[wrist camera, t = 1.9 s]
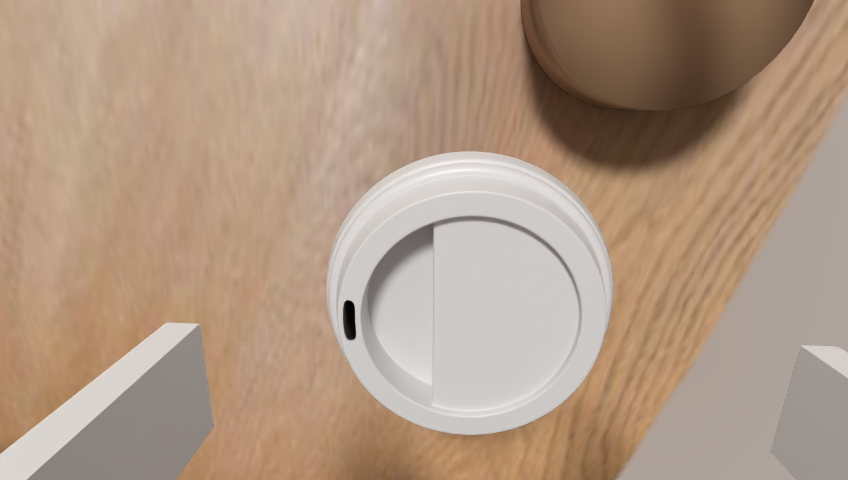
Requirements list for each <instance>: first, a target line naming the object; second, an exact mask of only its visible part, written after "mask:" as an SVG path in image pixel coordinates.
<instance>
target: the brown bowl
mask: <svg viewBox="0 0 848 480" xmlns="http://www.w3.org/2000/svg"><path fill="white" fill-rule="evenodd" d="M813 1H814V0H521V14H522V23H523V27H524V31H525V35H526V38H527V41H528V43H529V46H530V49H531V51H532V53H533V55H534V57H535V59H536V60H537V62H538V64H539V65H540V67H541V68H542V69H543V71H544V72H545V73H546V75H547V76H548V77H549V78H550V79H551V80H552V81H553V82H554V83H555V84H556V85H557V86H558V87H560V88H561V89H562V90H564V91H565V92H566V93H568V94H569V95H571V96H573V97H575V98H577V99H578V100H581V101H583V102H586V103H588V104H591V105H595V106H599V107H604V108H611V109H628V110H657V111H659V110H677V109H682V108H688V107H693V106H696V105H700V104H703V103H706V102H709V101H712V100H714V99H716V98H719V97H721V96H723V95H725V94H728V93H729V92H731V91H733V90H734V89H736V88H738V87H740V86H741V85H743V84H745V83H746V82H747V81H749V80H750V79H751V78H753V77H754V76H755V75H757V74H758V73H759V72H761V71H762V70H763V69H764V68H765V67H766V66H767V65H768V64H769V63H770V62H771V61H772V60H773V59H775V58H776V56H777V55H778V54H779V53H780V52H781V51H782V50H783V48H784V47H785V46H786V45H787V44H788V43H789V41H790V40H791V39H792V37H793V36H794V34H795V33H796V31H797V30H798V28H799V27H800V26H801V24H802V22H803V20H804V19H805V17H806V15H807V13H808V11H809V10H810V8H811V6H812V4H813Z"/></svg>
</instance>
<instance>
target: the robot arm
mask: <svg viewBox="0 0 848 480" xmlns="http://www.w3.org/2000/svg"><path fill="white" fill-rule="evenodd" d="M213 427H214V423H213V416H212V409H211V402H210V395H209V388H208V381H207V374H206V367H205V360H204V353H203V346H202V339H201V332H200V325H199V324H189V323H165V324H164V325H163V326H161V327H160V328H159V329H158V330H156V331H155V332H154V333H153V334H151V335H150V336H149V337H148V338H146V339H145V340H144V341H142V342H141V343H140V344H139V345H137V346H136V347H135V348H134V349H132V350H131V351H130V352H129V353H127V354H126V355H125V356H123V357H122V358H121V359H120V360H118V361H117V362H116V363H115V364H113V365H112V366H111V367H110V368H108V369H107V370H106V371H105V372H103V373H102V374H101V375H99V376H98V377H97V378H96V379H94V380H93V381H92V382H91V383H89V384H88V385H87V386H86V387H84V388H83V389H82V390H80V391H79V392H78V393H77V394H75V395H74V396H73V397H72V398H70V399H69V400H68V401H67V402H65V403H64V404H63V405H61V406H60V407H59V408H58V409H56V410H55V411H54V412H53V413H51V414H50V415H49V416H48V417H46V418H45V419H44V420H43V421H41V422H40V423H39V424H37V425H36V426H35V427H34V428H32V429H31V430H30V431H29V432H27V433H26V434H25V435H24V436H22V437H21V438H20V439H18V440H17V441H16V442H15V443H13V444H12V445H11V446H10V447H8V448H7V449H6V450H5V451H3V452H2V453H1V454H0V480H176V479H177V477H178V476H179V474H180V473H181V472H182V470H183V469H184V467H185V466H186V465H187V463H188V462H189V461H190V459H191V458H192V456H193V455H194V454H195V452H196V451H197V449H198V448H199V447H200V445H201V444H202V442H203V441H204V440H205V438H206V437H207V435H208V434H209V433H210V431H211V430H212V428H213ZM771 453H772V454H773V455H774V456H775V457H776V458H777V459H778V461H779V462H780V463H781V464H782V465H783V466H784V467H785V468H786V469H787V470H788V471H789V472H790V474H792V476H793V477H794V478H795V479H796V480H848V353H847V352H845V351H844V350H842V349H840V348H839V347H827V346H802V345H801V346H800V349H799V352H798V356H797V359H796V363H795V367H794V370H793V373H792V377H791V380H790V384H789V388H788V391H787V395H786V398H785V402H784V405H783V409H782V412H781V416H780V419H779V423H778V426H777V430H776V434H775V437H774V440H773V444H772V447H771Z"/></svg>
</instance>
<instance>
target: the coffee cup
mask: <svg viewBox="0 0 848 480" xmlns="http://www.w3.org/2000/svg"><path fill="white" fill-rule="evenodd" d="M326 296H327V308H328V314H329V319H330V323H331V326H332V329H333V332H334V335H335V338H336V340H337V342H338V345H339V347H340V349H341V351H342V353H343V355H344V357H345V358H346V360H347V362H348V363H349V365H350V366H351V368H352V370H353V371H354V373H355V375H356V376H357V378H358V379H359V381H360V382H361V383H362V385H363V386H364V387H365V388H366V389H367V391H368V392H369V393H370V394H371V395H372V396H373V397H374V398H375V399H376V400H378V401H379V402H380V403H381V404H382V405H384V406H385V407H386V408H388V409H389V410H390V411H392V412H393V413H395V414H397V415H398V416H400V417H402V418H404V419H406V420H408V421H410V422H412V423H414V424H417V425H419V426H422V427H425V428H428V429H432V430H435V431H440V432H445V433H451V434H461V435H481V434H491V433H497V432H502V431H506V430H510V429H514V428H517V427H520V426H522V425H525V424H528V423H530V422H532V421H534V420H536V419H538V418H540V417H542V416H544V415H545V414H547V413H549V412H550V411H552V410H553V409H555V408H556V407H557V406H559V405H560V404H561V403H562V402H564V401H565V400H566V399H567V398H568V397H569V396H570V395H571V394H572V393H573V392H574V391H575V390H576V389H577V388H578V387H579V385H580V384H581V383H582V382H583V380H584V379H585V377H586V376H587V374H588V373H589V371H590V370H591V368H592V366H593V364H594V362H595V360H596V358H597V356H598V353H599V351H600V348H601V345H602V342H603V339H604V336H605V333H606V330H607V327H608V323H609V319H610V314H611V307H612V299H613V279H612V270H611V264H610V260H609V255H608V251H607V248H606V244H605V241H604V239H603V236H602V234H601V231H600V229H599V227H598V225H597V223H596V222H595V220H594V218H593V217H592V215H591V213H590V212H589V211H588V209H587V208H586V206H585V205H584V204H583V203H582V201H581V200H580V199H579V198H578V197H577V196H576V195H575V194H574V193H573V192H572V191H571V190H570V189H569V188H568V187H567V186H565V185H564V184H563V183H562V182H560V181H559V180H558V179H556V178H555V177H554V176H552V175H550V174H549V173H547V172H546V171H544V170H542V169H540V168H538V167H536V166H534V165H532V164H530V163H527V162H525V161H522V160H519V159H516V158H513V157H509V156H505V155H500V154H495V153H487V152H453V153H446V154H440V155H436V156H431V157H428V158H424V159H421V160H418V161H416V162H413V163H411V164H409V165H406V166H404V167H402V168H400V169H398V170H396V171H395V172H393V173H391V174H390V175H388V176H387V177H385V178H384V179H382V180H381V181H379V182H378V183H377V184H376V185H374V186H373V187H372V188H371V189H370V190H369V191H368V192H367V193H366V194H365V195H363V197H362V198H361V199H360V200H359V201H358V202H357V203H356V204H355V206H354V207H353V208H352V210H351V211H350V212H349V214H348V215H347V217H346V218H345V220H344V222H343V223H342V225H341V227H340V229H339V231H338V233H337V235H336V238H335V240H334V243H333V246H332V249H331V253H330V257H329V261H328V267H327V276H326Z"/></svg>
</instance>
